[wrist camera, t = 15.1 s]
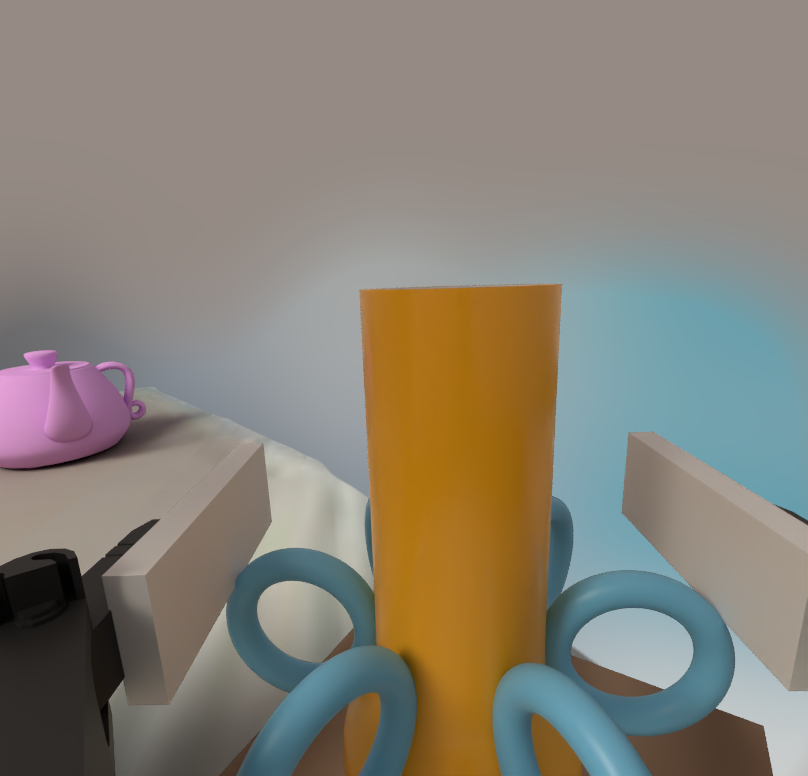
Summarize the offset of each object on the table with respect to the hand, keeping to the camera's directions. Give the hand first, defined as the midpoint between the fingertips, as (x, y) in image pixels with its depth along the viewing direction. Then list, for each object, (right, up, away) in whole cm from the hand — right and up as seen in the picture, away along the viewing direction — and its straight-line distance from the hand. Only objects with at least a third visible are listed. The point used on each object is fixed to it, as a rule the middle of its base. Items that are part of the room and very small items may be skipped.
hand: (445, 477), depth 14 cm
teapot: (-46, -6, +46) cm, 65 cm away
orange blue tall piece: (0, -10, -2) cm, 10 cm away
